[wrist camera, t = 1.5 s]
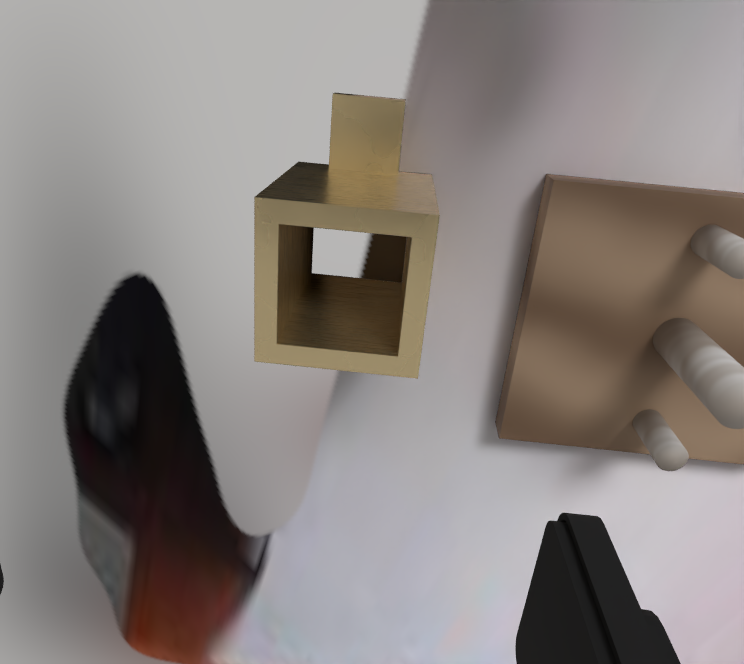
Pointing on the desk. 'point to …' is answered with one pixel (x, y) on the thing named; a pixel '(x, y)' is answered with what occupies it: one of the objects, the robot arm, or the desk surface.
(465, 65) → the desk surface
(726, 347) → the post dock
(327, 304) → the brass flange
